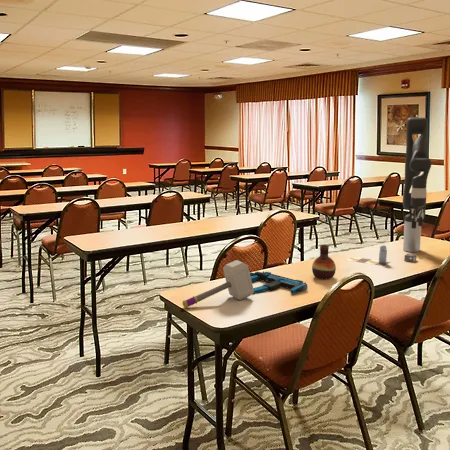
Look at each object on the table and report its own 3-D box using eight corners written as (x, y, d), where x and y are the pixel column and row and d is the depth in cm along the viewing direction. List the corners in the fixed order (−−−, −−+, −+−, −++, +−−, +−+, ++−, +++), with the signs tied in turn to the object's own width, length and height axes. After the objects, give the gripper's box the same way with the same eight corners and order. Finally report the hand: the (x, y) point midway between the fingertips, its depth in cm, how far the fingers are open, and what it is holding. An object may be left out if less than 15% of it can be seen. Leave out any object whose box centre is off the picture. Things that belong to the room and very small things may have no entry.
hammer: (182, 290, 207) (247, 262, 220) (174, 285, 214) (237, 258, 226) (192, 324, 212) (254, 294, 224) (184, 318, 218) (245, 290, 231)
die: (407, 261, 283) (407, 253, 282) (415, 263, 280) (416, 254, 280) (404, 263, 280) (404, 255, 279) (412, 264, 277) (413, 256, 276)
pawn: (380, 262, 277) (381, 244, 276) (387, 263, 275) (388, 244, 273) (377, 263, 274) (378, 245, 273) (384, 264, 272) (385, 246, 271)
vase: (335, 274, 259) (336, 243, 257) (335, 281, 249) (336, 248, 246) (312, 273, 262) (313, 243, 259) (311, 280, 251) (311, 247, 248)
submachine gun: (220, 278, 246) (258, 266, 262) (220, 286, 247) (259, 273, 263) (274, 294, 221) (313, 280, 237) (275, 303, 222) (313, 288, 238)
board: (353, 259, 290) (353, 256, 290) (391, 264, 277) (391, 262, 277) (345, 262, 282) (345, 260, 282) (383, 268, 270) (383, 266, 269)
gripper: (417, 194, 286) (415, 224, 289) (405, 197, 276) (404, 228, 279) (431, 195, 281) (429, 226, 284) (420, 198, 271) (418, 229, 274)
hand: (417, 227), depth 282 cm, fingers open, 8 cm apart
